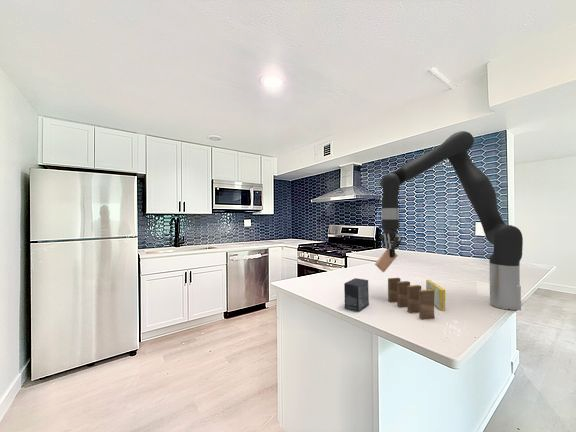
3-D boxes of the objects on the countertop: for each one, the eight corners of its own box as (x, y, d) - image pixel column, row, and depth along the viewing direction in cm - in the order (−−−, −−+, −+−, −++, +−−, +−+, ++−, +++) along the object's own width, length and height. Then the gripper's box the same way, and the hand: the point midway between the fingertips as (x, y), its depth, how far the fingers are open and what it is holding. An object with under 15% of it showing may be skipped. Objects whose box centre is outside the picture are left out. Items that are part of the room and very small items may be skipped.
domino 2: (388, 301, 106) (388, 278, 106) (398, 300, 108) (397, 277, 108) (390, 302, 105) (390, 279, 105) (400, 301, 106) (400, 278, 106)
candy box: (445, 311, 95) (445, 289, 95) (439, 310, 96) (439, 289, 96) (430, 297, 111) (430, 279, 111) (425, 297, 112) (425, 279, 112)
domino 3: (397, 306, 101) (396, 281, 101) (407, 305, 102) (407, 281, 102) (399, 307, 99) (399, 282, 99) (410, 306, 100) (410, 282, 100)
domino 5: (419, 317, 89) (419, 290, 89) (430, 316, 90) (430, 289, 90) (422, 319, 87) (422, 291, 87) (434, 318, 88) (434, 290, 89)
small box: (354, 301, 107) (354, 277, 107) (369, 304, 102) (369, 279, 103) (343, 308, 98) (343, 282, 98) (359, 312, 94) (358, 285, 94)
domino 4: (407, 311, 95) (407, 285, 95) (418, 310, 96) (418, 284, 96) (410, 313, 93) (410, 286, 93) (421, 311, 94) (421, 286, 94)
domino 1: (374, 264, 109) (388, 247, 111) (381, 271, 110) (395, 255, 111) (376, 264, 107) (390, 248, 109) (384, 272, 108) (397, 255, 110)
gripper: (407, 218, 104) (408, 259, 104) (388, 218, 117) (388, 254, 117) (392, 218, 103) (393, 260, 102) (374, 218, 116) (374, 255, 116)
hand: (390, 256), depth 110 cm, fingers closed on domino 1, 1 cm apart
